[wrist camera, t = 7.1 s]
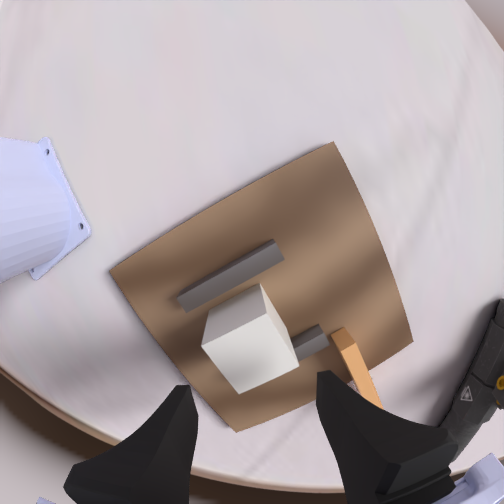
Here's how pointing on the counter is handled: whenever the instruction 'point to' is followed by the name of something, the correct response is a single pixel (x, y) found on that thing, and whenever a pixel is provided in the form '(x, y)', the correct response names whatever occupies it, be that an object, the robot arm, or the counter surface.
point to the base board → (273, 282)
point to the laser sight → (480, 386)
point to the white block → (248, 340)
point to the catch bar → (356, 365)
